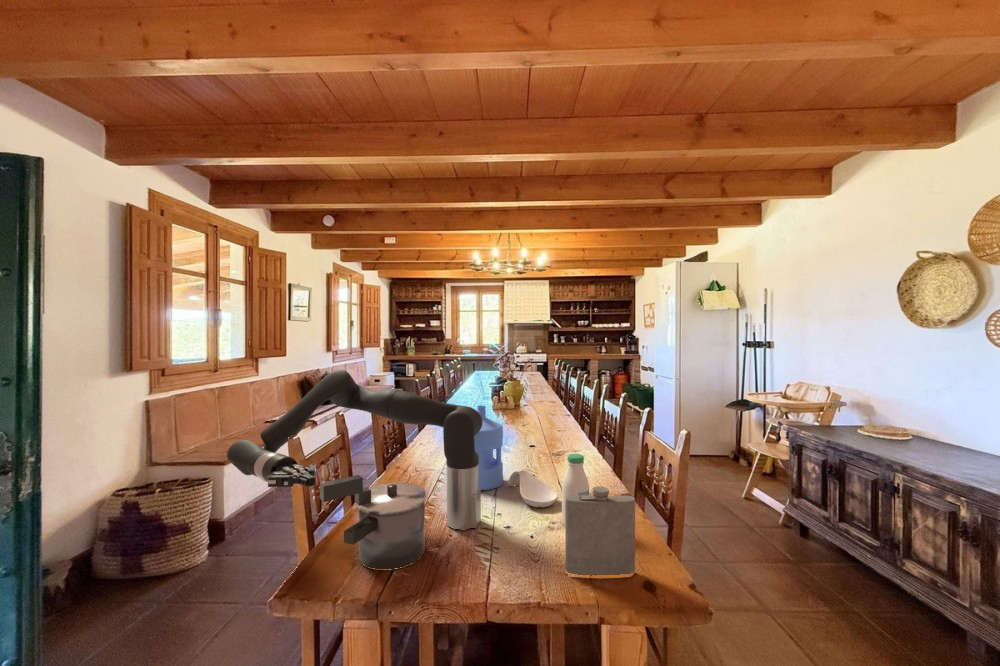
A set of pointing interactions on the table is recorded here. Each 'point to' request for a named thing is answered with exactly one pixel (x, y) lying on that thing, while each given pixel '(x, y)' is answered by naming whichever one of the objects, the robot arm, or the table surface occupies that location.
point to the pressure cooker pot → (389, 538)
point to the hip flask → (600, 534)
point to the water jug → (489, 452)
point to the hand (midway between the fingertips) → (312, 482)
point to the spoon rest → (533, 489)
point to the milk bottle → (574, 480)
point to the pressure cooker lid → (375, 495)
